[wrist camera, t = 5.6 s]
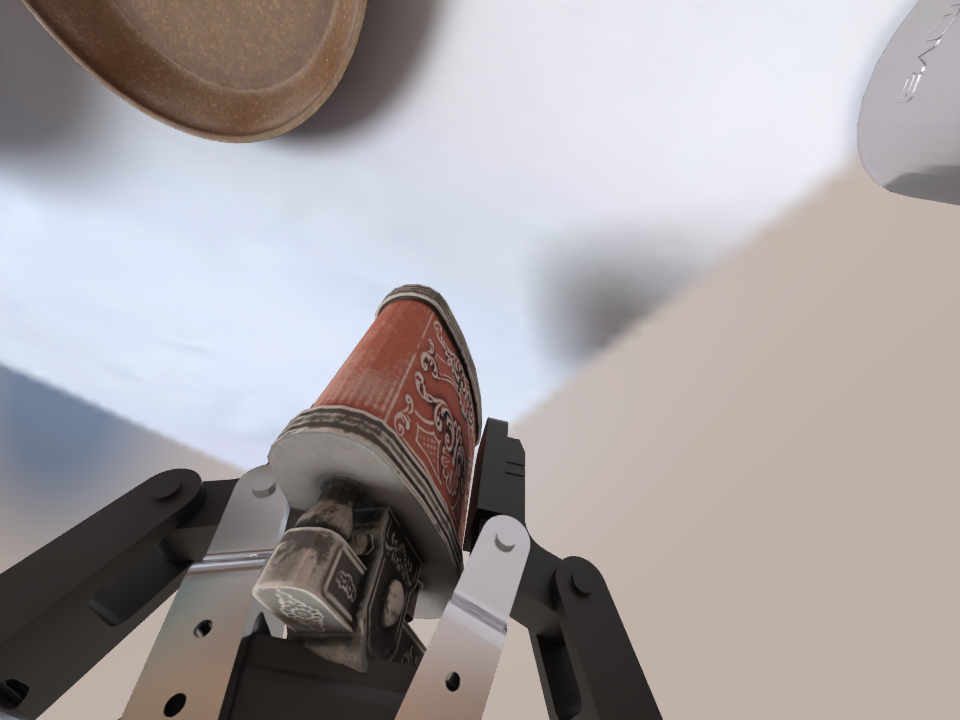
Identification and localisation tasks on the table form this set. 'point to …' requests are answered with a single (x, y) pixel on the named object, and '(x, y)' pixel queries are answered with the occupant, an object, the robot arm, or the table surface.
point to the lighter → (378, 489)
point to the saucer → (212, 58)
